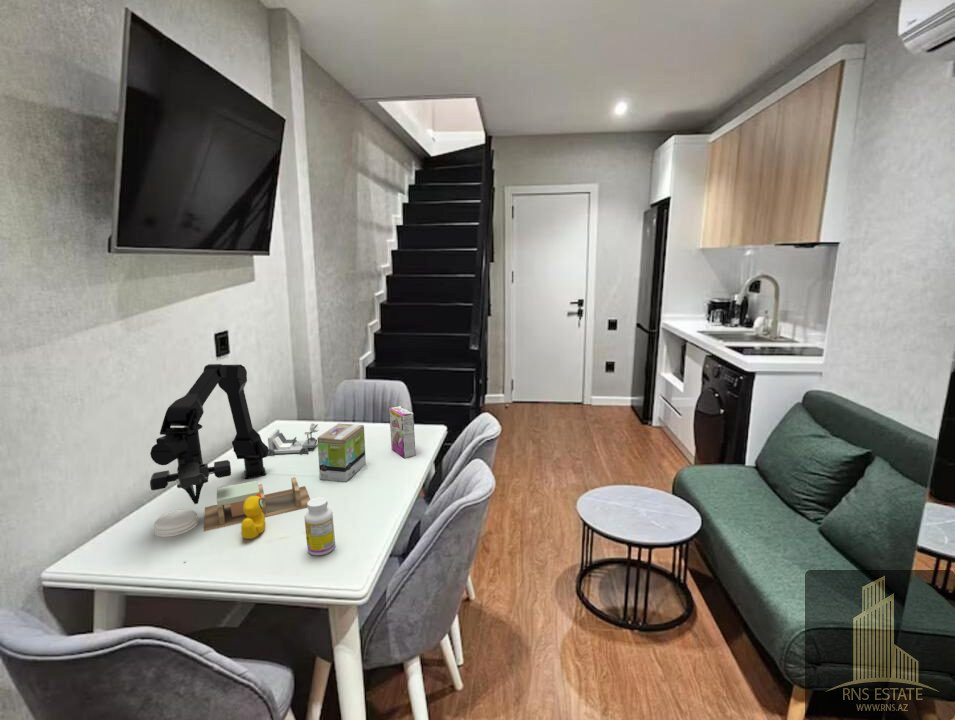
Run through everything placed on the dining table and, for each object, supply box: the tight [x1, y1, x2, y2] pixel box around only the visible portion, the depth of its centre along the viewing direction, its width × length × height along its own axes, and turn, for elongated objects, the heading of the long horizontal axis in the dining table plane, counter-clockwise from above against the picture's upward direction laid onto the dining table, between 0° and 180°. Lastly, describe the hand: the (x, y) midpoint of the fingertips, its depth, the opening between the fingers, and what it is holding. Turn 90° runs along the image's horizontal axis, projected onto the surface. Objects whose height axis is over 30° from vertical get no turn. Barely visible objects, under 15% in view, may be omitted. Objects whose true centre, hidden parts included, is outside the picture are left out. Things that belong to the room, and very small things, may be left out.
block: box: [230, 501, 245, 517], centre depth 142 cm, size 4×4×4 cm
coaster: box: [153, 508, 199, 538], centre depth 135 cm, size 10×10×4 cm
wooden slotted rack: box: [203, 477, 311, 533], centre depth 144 cm, size 15×28×6 cm, turn 117°
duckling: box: [240, 493, 266, 540], centre depth 131 cm, size 11×5×10 cm, turn 6°
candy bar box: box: [388, 405, 417, 459], centre depth 183 cm, size 11×5×16 cm, turn 34°
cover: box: [216, 480, 259, 506], centre depth 141 cm, size 8×11×2 cm
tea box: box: [317, 423, 367, 482], centre depth 168 cm, size 15×10×15 cm, turn 168°
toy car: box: [267, 423, 320, 457], centre depth 189 cm, size 18×10×12 cm
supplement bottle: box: [304, 496, 336, 556], centre depth 123 cm, size 7×7×13 cm
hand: (196, 503), depth 137 cm, fingers closed
